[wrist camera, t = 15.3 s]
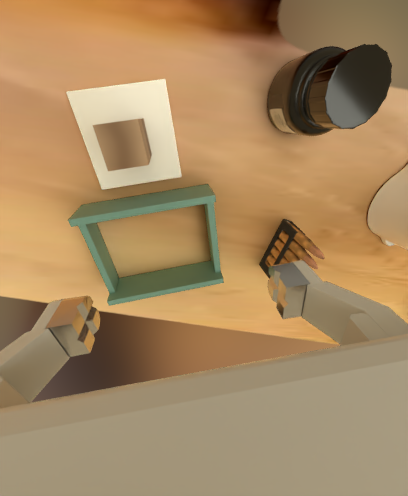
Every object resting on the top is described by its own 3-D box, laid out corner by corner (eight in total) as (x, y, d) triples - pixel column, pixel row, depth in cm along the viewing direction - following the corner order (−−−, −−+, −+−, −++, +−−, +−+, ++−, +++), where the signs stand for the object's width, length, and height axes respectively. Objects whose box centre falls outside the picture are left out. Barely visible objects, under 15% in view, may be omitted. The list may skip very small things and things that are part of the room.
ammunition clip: (266, 266, 47) (295, 308, 37) (258, 264, 46) (286, 306, 36) (291, 221, 42) (332, 254, 32) (283, 218, 42) (322, 251, 31)
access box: (207, 183, 36) (215, 195, 31) (216, 263, 44) (223, 282, 39) (81, 204, 34) (67, 220, 29) (115, 283, 43) (109, 305, 38)
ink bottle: (257, 130, 33) (299, 137, 23) (270, 54, 29) (329, 19, 19) (316, 135, 35) (379, 142, 25) (336, 63, 30) (424, 36, 20)
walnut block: (143, 118, 29) (137, 118, 22) (151, 154, 32) (148, 165, 25) (109, 123, 29) (92, 125, 22) (120, 159, 31) (108, 171, 24)
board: (165, 80, 28) (165, 78, 27) (181, 175, 35) (181, 176, 34) (69, 92, 27) (65, 91, 27) (103, 187, 34) (101, 189, 33)
